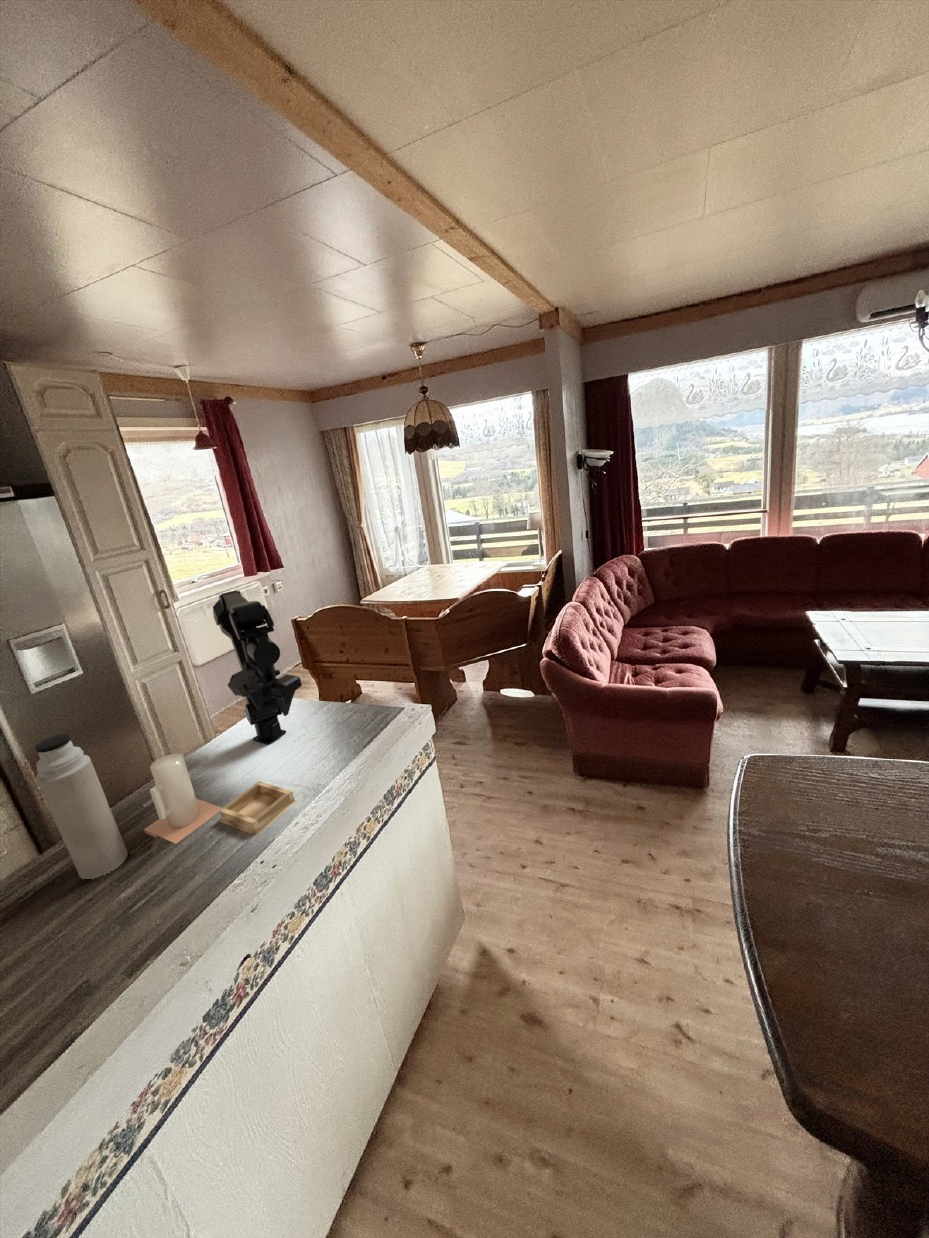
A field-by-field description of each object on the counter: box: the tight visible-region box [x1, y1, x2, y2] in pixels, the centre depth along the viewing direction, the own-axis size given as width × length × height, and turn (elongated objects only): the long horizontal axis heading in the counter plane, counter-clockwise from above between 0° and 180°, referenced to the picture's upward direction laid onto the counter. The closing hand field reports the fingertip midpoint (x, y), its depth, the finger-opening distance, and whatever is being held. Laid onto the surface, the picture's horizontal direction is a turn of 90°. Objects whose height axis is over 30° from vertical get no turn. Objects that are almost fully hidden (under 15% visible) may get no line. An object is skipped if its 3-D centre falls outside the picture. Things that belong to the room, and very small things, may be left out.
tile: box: [144, 798, 224, 845], centre depth 106 cm, size 11×11×1 cm
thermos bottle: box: [35, 733, 128, 880], centre depth 93 cm, size 8×8×28 cm
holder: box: [219, 780, 298, 836], centre depth 106 cm, size 11×11×4 cm
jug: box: [149, 753, 200, 828], centre depth 103 cm, size 8×6×14 cm
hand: (273, 712), depth 123 cm, fingers open, 9 cm apart
